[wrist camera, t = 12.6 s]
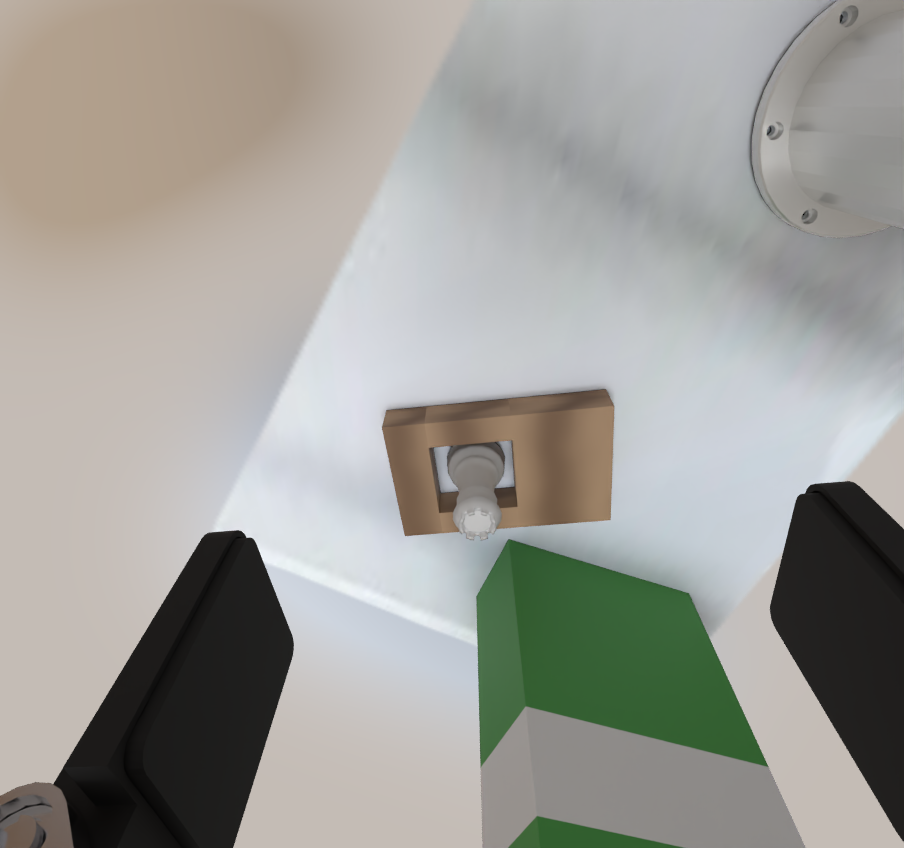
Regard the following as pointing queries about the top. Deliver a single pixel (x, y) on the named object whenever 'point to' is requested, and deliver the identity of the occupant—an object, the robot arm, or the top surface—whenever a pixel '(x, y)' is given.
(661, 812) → the hardback book
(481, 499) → the rook chess piece
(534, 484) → the socket board
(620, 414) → the top surface
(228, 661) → the robot arm
